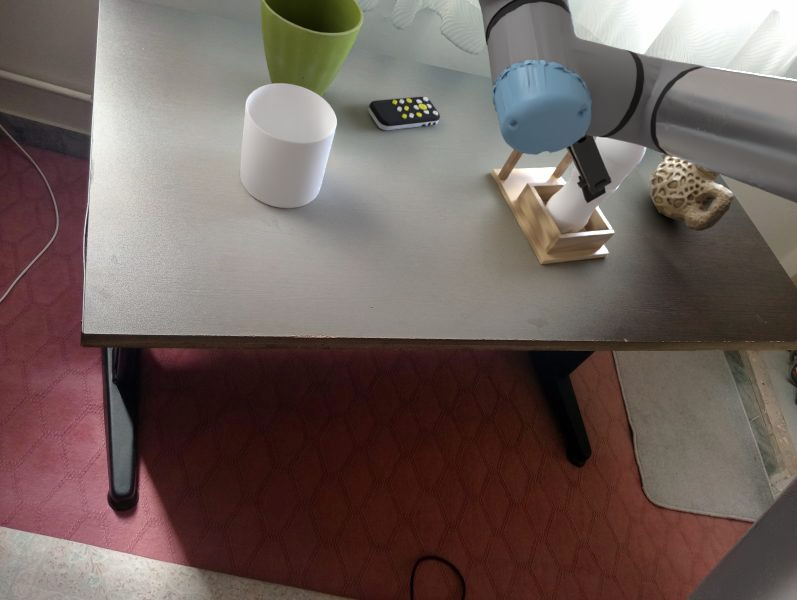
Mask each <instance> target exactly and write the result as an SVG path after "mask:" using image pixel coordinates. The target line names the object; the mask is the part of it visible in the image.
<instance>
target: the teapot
mask: <svg viewBox="0 0 797 600" xmlns="http://www.w3.org/2000/svg"><path fill="white" fill-rule="evenodd" d="M660 157H662V159H663V160H662V161H661V162H660V164H658V166H657V167H656V169H654V171H653V172H652V173H651V176H650V179H649V181H648V183H649V190H650V191H649V192H650V198H651V201H652V202H653V204H654V207H655V209H656V210H657V212H658V213H659V214H661V215H664V216H665V217H667V218H670V219H673V220H676V221H678V222H679V221H680V222H684V223H685V225H686V227H687V228H689V229H690V230H693V231H697V232H702V231H705V230H708V229H710V228H712V227H714V226H715V225H716V224H717V223H718V222H719V221H720V220H722V218H723V217H724V215H725V214H726V213H727V212H728V211H729V210H730V207H731V205H732V202H733V200H734V198H735V195H734V193H733V192H732V191H731V190H730V189H729V188H728V187H726V186H724V185H723V184H722V183H721V184H720V183H718V182H717V180H718V177H719V176H720V174H719V173H716V172H713V171H711V170H708V169H705V168H703V167H700V166H697V165H695V164H692V163H690V162H687V161H684V160H682V159H679V158H676V157H673V156H669V155H666V154H663V153H661V154H660Z"/></svg>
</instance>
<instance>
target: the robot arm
mask: <svg viewBox="0 0 797 600" xmlns="http://www.w3.org/2000/svg"><path fill="white" fill-rule="evenodd" d="M478 4H479V7H480V11H481V16H482V24H483V30H484V38H485V43H486V46H487V53H488V60H489V61H488V62H489V68H490V76H491V86H492V102H493V103H492V104H493V106H494V110H495V112H496V114H497V115H496V116H497V120H498V125H499V129H500V134H501V136H502V138H503V140H504V142H505V143H506V144H507V146H508V147H510V148H511V149H513V150H514V149H515V150H516V151H519V152H521V153H523V154H526V155H533V156H535V155H536V156H537V155H539V154H541V153H543V152H548V153H550V154H552V153H556V152H557V153H558V152H560V151H562V150H564V149H566V151H567V152H569V154H570V156H571V158H572V160H573V161H572V163H573V164H574V166H576V168H577V170H578V172H579V174H580V176H578V178H579V182H578V183H577V184H578V186H579V187H580V188H582V192H583V195H584V199H585V200H586V202H587V203H589V202H591V201H592V200H594V199H596V198H598V197H599V196H601V195H603V194H605V193H606V191H605V186H607V185H608V184H610V183H612V181H611V178H610V176H609V174H608V172H607V170H606V167H605V165H604V162H603V160H602V157H601V155H600V153H599V150H598V148H597V145H596V143H595V138H596V137H603V138H605V137H606V138H610V139H615V140H619V141H624V142H629V143H633V144H637V145H641V146H644V147H646V149H649V150H652V151H655V152H658V153H659V154H660V153H661V154H662V153H663V154H666V155H669V156H673V157H676V158H679V159H682V160H684V161H687V162H690V163H692V164H695V165H697V166H700V167H703V168H705V169H708V170H711V171H713V172H716V173H719V175H721V176H724V177H726V178H730V179H732V180H734V181H737V182H740V183H742V184H745V185H747V186H750V187H752V188H756V189H759V190H761V191H763V192H765V193H769V194H771V195H774V196H776V197H779V198H782V199H784V200H787V201H790V202H792V203H795V204H797V79H793V78H788V77H787V78H786V77H780V76H773V75H766V74H759V73H753V72H746V71H739V70H734V69H733V70H732V69H727V68H720V67H712V66H705V65H702V64H694V63H690V62H682V61H676V60H672V59H667V58H662V57H659V56H658V57H657V56H652V55H648V54H644V53H639V52H635V51H634V52H633V51H632V50H628V49H625V48H619V47H615V46H612V45H607V44H603V43H600V42H596V41H592V40H587V39H583V38H580V37H579V36H578V35H577V32H576V29H575V25H574V20H573V16H572V12H571V8H570V3H569V0H478ZM594 137H595V138H594ZM684 600H797V475H796V476H794V477H793V478H792V480H791V481H790V482H789V483H788V484H787V485H786V487H785V488H784V489H783V490H782V491H781V492H780V493H779V495H777V496H776V498H775V499H774V500H773V501H772V502H771V503H770V505H769V506H767V507H766V509H765V510H764V511H763V512H762V513H761V514H760V516H758V518H757V519H756V520H755V521H754V522H753V523H752V525H751V526H750V527H748V529H747V530H746V531H745V532H744V533H743V534H742V535H741V536H740V537H739V539H738V540H737V541H736V542H735V543H734V544H733V546H731V548H730V549H728V551H727V552H726V553H725V555H723V556H722V558H721V559H720V560H719V561H718V562H717V563H716V564H715V566H714V567H713V568H712V569H711V570H710V571H709V572H708V574H706V576H705V577H704V578H702V580H701V581H700V582H698V585H696V587H695V588H694V589H693V590H692V591H691V592H690V594H688V596H687V597H685V599H684Z"/></svg>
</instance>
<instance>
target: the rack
mask: <svg viewBox="0 0 797 600" xmlns="http://www.w3.org/2000/svg"><path fill="white" fill-rule="evenodd" d="M523 154H524V153H521V152H519V151H516V150H515V149H513V150H512V152H511V153H510V154H509V156H508V158H507V160H506V161H505V163H504V165H503V166H502V168H493V169H492V170H491V172H490V174H491V176H492V178H493V180H494V181H495V183H496V185H497V187H498V189H499V190H500V192H501V194H502V196H503V198H504V200H505V202H506V203H507V205H508V207H509V209H510V211H511V212H512V214H513V216H514V218H515V220H516V222H517V223H518V225H519V227H520V229H521V231H522V233H523V235H524V236H525V238H526V240H527V242H528V244H529V245H530V247H531V250H532V251H533V253H534V255H535V256H536V258H537V260H538V261H539V264H540V265H547V264H557V263H565V262H573V261H581V260H591V259H597V258H606V257H607V256H609V254H610V251H609V250H608V249H607V247H606V243H607V242H608V241H609V240H610V239H611V238H612V237H613V236H614V235H616V232H615V230H614V228H613V227H612V226H611V224H610V222H609V221H608V220H607V218H606V216H605V214H604V213H603V212H602V210H601V209H600V207H599V205H598V206H597V207H596V209H595V210H594V211H593V213H592V214H591V216H590V218H589V220H588V223H587V224H586V225H585V226H584V227H583V228H582V229H581V230H580V231H578V232H577V233H568V234H565V233H562V234H561V232H560V231H559V229H558V227H557V226H556V224H555V222H554V221H553V219H552V217H551V215H550V214H549V212H548V210H547V209H546V205H547V202H548V201H549V199H550V198H551V197H552V196H553V195H554V194H555V193H557V192H558V191H559V190H560V189H561V188H562V187H563V186H564V185H565V184H566V183H567V181H568V180H566V181H565V180H564V178H563V177H562V176H563V175H564V174H565V172H566V171H567V169H568V168H569V167H570V166H571V164H572V163H573V160H572V158H571V156H570V154H569V152H568V151H567V152H566V154H565V155H564V156H563V158H562V159H561V161H560V162H559V163H558V165H557V166H556V167H522V168H520V167H519V168H515V167H516V165H517V164H518V163H519V160H520V159H521V158H522V156H523Z"/></svg>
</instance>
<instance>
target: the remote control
mask: <svg viewBox="0 0 797 600" xmlns="http://www.w3.org/2000/svg"><path fill="white" fill-rule="evenodd" d="M367 109H368V113H369V115H370V117H371V118H372V119H373V121H374V123H375V124H376V126H377V127H378V128H379V129H380V130H383V131H395V130H402V129H411V128H420V127H428V126H435V125H437V124H438V123H439V121H440V119H441V113H440V112H439V111H438V108H436V107H435V106H434V104H433V102H432V101H431V100H430V99H429V98H428V97H426V96H413V97H411V96H410V97H399V98H390V99H377V100H376V99H375V100H372V101H370V103H369V106H368V108H367Z"/></svg>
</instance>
